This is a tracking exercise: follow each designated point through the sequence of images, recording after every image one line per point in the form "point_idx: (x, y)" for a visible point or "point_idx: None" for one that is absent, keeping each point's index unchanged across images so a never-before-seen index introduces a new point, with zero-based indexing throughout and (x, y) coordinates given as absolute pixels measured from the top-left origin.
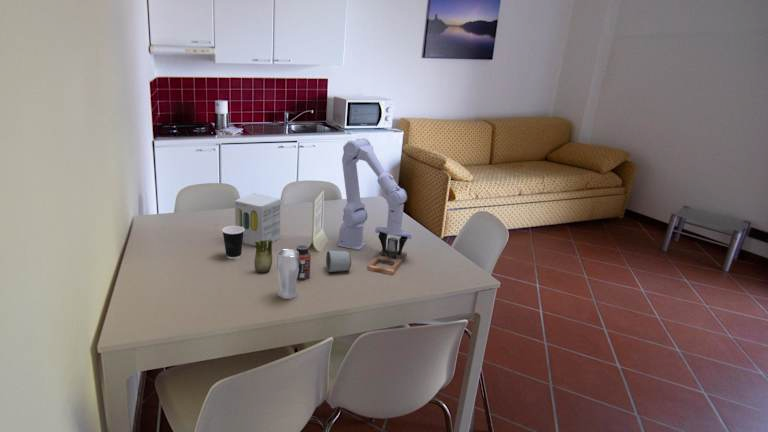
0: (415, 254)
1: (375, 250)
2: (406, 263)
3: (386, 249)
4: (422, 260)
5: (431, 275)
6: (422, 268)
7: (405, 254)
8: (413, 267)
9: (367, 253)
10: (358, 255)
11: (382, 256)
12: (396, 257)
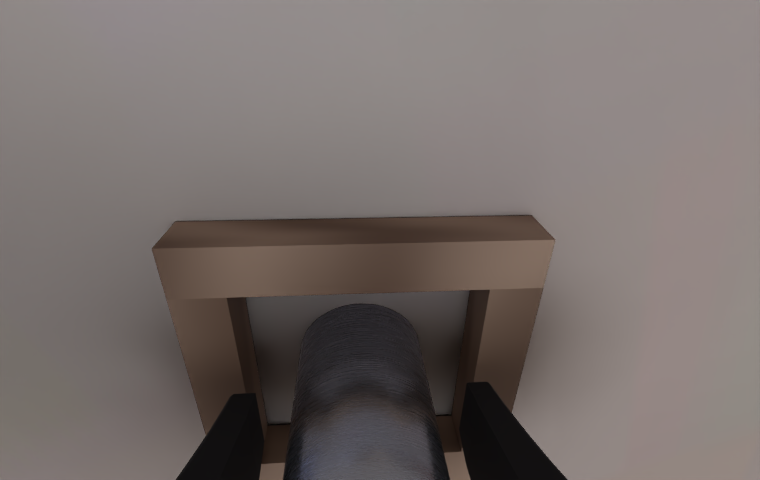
0: (661, 103)
1: (64, 245)
2: (540, 388)
3: (229, 287)
4: (729, 253)
5: (743, 468)
6: (691, 408)
7: (535, 314)
8: (608, 424)
9: (51, 367)
10: (14, 443)
11: (284, 465)
12: (419, 347)
